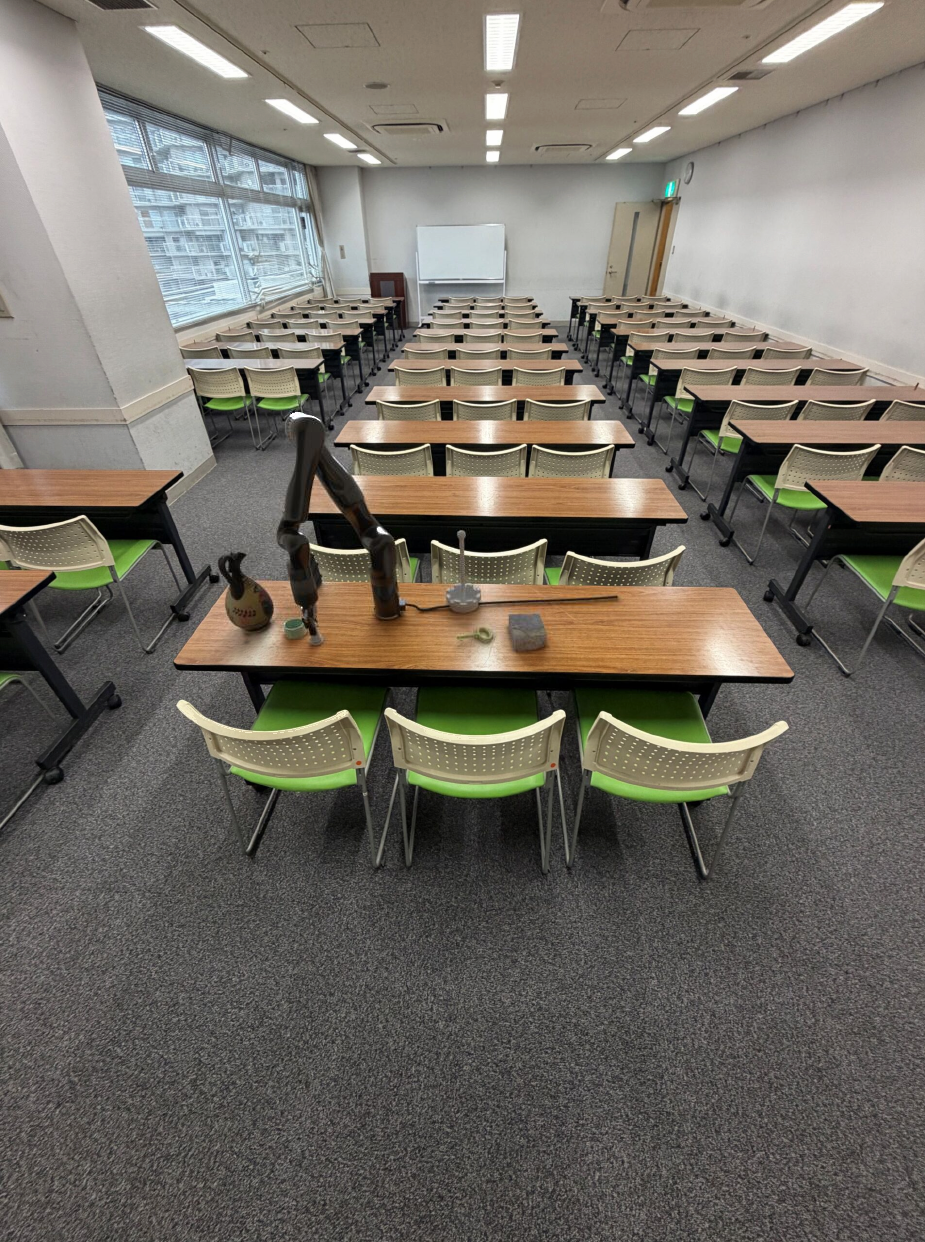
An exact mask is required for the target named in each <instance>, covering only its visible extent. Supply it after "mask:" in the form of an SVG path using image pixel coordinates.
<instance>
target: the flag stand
mask: <svg viewBox="0 0 925 1242" xmlns="http://www.w3.org/2000/svg"><path fill="white" fill-rule="evenodd" d="M456 536H457V538H458V539H459V540H458V541H459V565H460V566H459V567H460V568H459V569H460V582H457V583H455V584H453V587H448V588H447V589H446V590H445V600H446V602H447V604H448V605H450V607H449V608H450V609H451V610H452V611H454V612H456V613H460V614H462V613H471V612H473V611H476V609H477V608H478V607H479V605H478V603H479V602H481V599H482V592H481V591H482V590H481V588H480V587H479V586H476V587H475V586H474V584H473V583H470V582H468V583H467V582H466V569H465V567H466V566H465V565H466V564H465V538H466V536H467V534H466V532H465V531H464V530H459V531H457V533H456Z"/></svg>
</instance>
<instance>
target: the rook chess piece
mask: <svg viewBox="0 0 925 1242" xmlns="http://www.w3.org/2000/svg"><path fill="white" fill-rule="evenodd" d="M314 622H315V628H316V632H317V635H316V636H310V635H309V636H310V637H309V644H310V645H312V646H319V645H321V644H322V643H323V642H324V638H323V636H322V634H321V633H320V632H319V623H318V624H317V623H316V621H314ZM317 626H318V627H317Z"/></svg>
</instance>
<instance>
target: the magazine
mask: <svg viewBox="0 0 925 1242" xmlns="http://www.w3.org/2000/svg"><path fill="white" fill-rule="evenodd" d="M315 556H316V555H315V554H314V553H311V552H310V566H311V570H312V574H313V577H314V580H315V584H316V588H317V590H318V589H319V588H320V586H321V585H322V583H323V580H322V578H323V573H321V572H320V568H319V565H320V564H319V562H317V560H316V559H315V558H316V557H315Z"/></svg>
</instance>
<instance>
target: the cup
mask: <svg viewBox="0 0 925 1242" xmlns="http://www.w3.org/2000/svg"><path fill="white" fill-rule="evenodd" d="M283 629H284V633H285V637H286V638H287V639H289V640H299V639H302V638H303V637H304V636H305V635H306V634H307V629H306V628H305V626H304V624H303V622H302V617H293V618H289V619H287V620H286V621H284V623H283Z"/></svg>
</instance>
